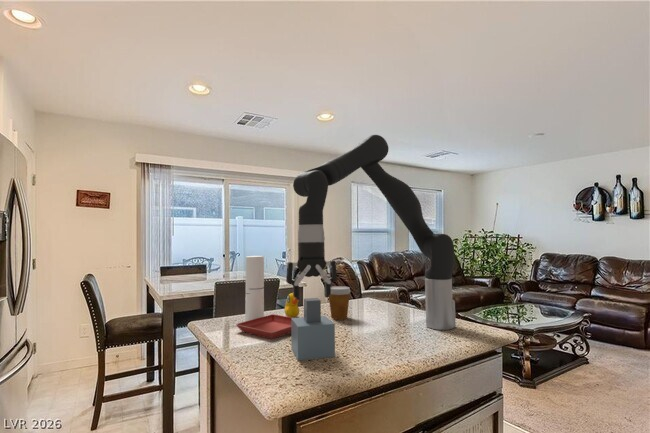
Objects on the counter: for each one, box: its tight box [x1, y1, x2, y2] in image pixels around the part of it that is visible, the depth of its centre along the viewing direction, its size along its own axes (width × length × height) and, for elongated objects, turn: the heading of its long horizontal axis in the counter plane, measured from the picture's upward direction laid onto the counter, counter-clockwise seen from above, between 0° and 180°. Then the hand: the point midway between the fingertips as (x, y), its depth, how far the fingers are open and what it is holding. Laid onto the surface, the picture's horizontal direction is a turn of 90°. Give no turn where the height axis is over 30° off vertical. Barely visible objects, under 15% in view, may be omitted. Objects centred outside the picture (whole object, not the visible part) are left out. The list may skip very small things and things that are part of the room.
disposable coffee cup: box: [328, 285, 352, 321], centre depth 140 cm, size 10×10×12 cm
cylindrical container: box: [244, 255, 265, 322], centre depth 138 cm, size 7×7×25 cm
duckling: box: [284, 292, 300, 318], centre depth 141 cm, size 11×5×10 cm, turn 21°
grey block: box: [290, 297, 336, 361], centre depth 98 cm, size 10×10×15 cm
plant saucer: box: [235, 313, 291, 340], centre depth 122 cm, size 18×18×3 cm
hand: (312, 298), depth 99 cm, fingers open, 8 cm apart
